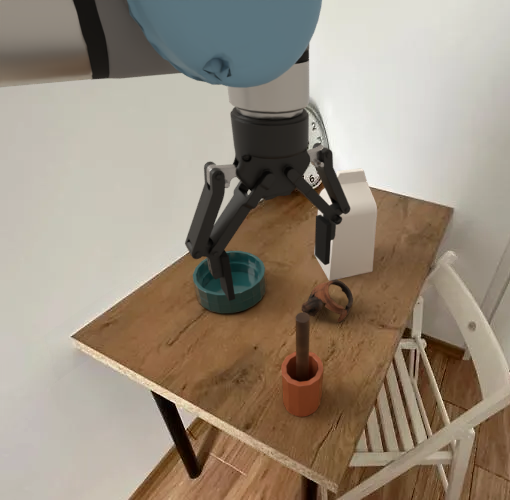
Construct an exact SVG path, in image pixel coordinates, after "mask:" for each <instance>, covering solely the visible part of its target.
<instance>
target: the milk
mask: <svg viewBox="0 0 510 500" xmlns="http://www.w3.org/2000/svg"><path fill="white" fill-rule="evenodd" d="M335 173H336V175H337V177H338V180H339V182H340V184H341V187H342V189H343V192H344V194H345V196H346V199H347V201H348V203H349V206H350V211H349V213H347V214H344V213H343V214H341V215H340V216H341V217H342V222H341V223H340V224H338V225H336V232H335V238H334V239H333V240H331V247H330V263H329V264H327V265H324V264H323V263H322V262H321V261H320V260H319V259H318V258H317V257H316V256H315V249H314V251H313V256H314V257H315V258H316V261H317V262H318V264H319V265H320V267H321V269H322V271H323V272H324V274H325V276H326V279H327V280H328V282H329V281H332V280H340V279H344V278H345V279H346V278H349V277H354V276H359V275H363V274H367V273H373V270H374V258H375V257H374V256H375V246H376V245H375V244H376V233H377V231H376V230H377V219H378V206H377V203H376V199H375V198H374V197H375V196H374V195H373V193H372V190H371V188H370V185H369V183H368V181H367V177H366V173H365V171H364V169H363V168H362V167H361V168H351V169H342V170H337V171H336V172H335ZM319 195H320V196H321V197H322V198H323V199H324V200H325V201H326V202H327V203H328V204H329V205H331V204H332V202H331V200H330V198H329V196H328V194H327V191H326V189H325V187H324V188H323V189H322V190H321V191H320V192H319ZM317 215H322V216H323V213H321V212H320V211H319V210H318V209H317Z"/></svg>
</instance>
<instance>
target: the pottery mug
mask: <svg viewBox="0 0 510 500" xmlns="http://www.w3.org/2000/svg"><path fill="white" fill-rule="evenodd" d="M331 285H333V286H337V287H339V288H340V289H341V292H343V293H344V295H345V296H346V298H347V304H346V305H345V307H344V305H341V304H338V303H336V301H334V299H332V297H331V295H330V291H329V289H330V286H331ZM324 304H325V305H324ZM353 304H354V297H353V293H352V291H351V289H350V288H349V286H347V284H346V283H344V282H343V281H341V280H340V279H336V280H331V281H329V280H328V281H325V282H324V281H323V282H321V283H319V284H317V285H316V286H315V287H314V288H313V289H312V291H311V292H310V295H309V296H308V299H307V301H304V302H302V304H301V311H302V312H305V313H307V314H308V315H309V316H310V317H312V318H315V317H316V316H317V314H318V313H319V312H321V311H322V310H323V307H324V308H327V309H328V310H330V311H331V312H333V313H335V314H337V315H339V317H338V318H337V322H338V323H340V322H342V321H343V320H344V319H346V317H347V316H348V315H349V313H350V310H351V308H352V305H353Z"/></svg>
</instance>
